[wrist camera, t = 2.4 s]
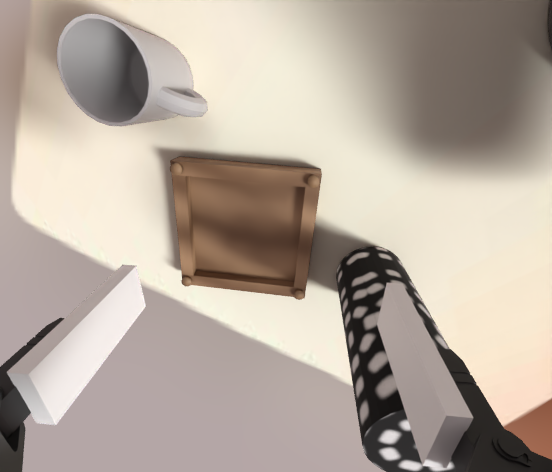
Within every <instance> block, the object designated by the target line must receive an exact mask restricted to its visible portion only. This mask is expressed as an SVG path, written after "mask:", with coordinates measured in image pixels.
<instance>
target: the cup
mask: <svg viewBox="0 0 552 472" xmlns="http://www.w3.org/2000/svg"><path fill="white" fill-rule="evenodd" d="M57 63H58V69H59V72H60V76H61V80H62V82H63V84H64V86H65V88H66V90H67V92H68V94H69V95H70V97H71V98H72V100H73V101H74V102H75V104H76V105H77V106H78V107H79V108H80V109H81V110H82V111H83V112H84V113H85V114H86V115H88V116H90V117H91V118H93V119H94V120H96V121H98V122H100V123H103V124H106V125H109V126H126V125H132V124H139V123H145V122H151V121H158V120H164V119H168V118H172V117H175V116H177V115H181V116H186V117H201V116H203V115H204V113H205V112H206V111H207V110H208V107H207V101H206V100H205V99H204V98H203V97H202V96H201V95H200V94H198V93H197V92H195V91H193V88H194V85H193V75H192V72H191V69H190V66H189V64H188V62H187V60H186V58H185V57H184V55H183V54H182V53H181V52H180V51H179V50H178V48H177V47H175V46H174V45H172V44H171V43H169V42H168V41H166V40H164V39H162V38H159V37H157V36H154V35H152V34H149V33H147V32H144V31H142V30H139V29H137V28H134V27H132V26H129V25H127V24H124V23H122V22H119V21H117V20H114V19H112V18H109V17H106V16H103V15H100V14H84V15H82V16H79V17H76V18H74V19H73V20H72V21H71V22H70V23H68V24H67V25H66V26H65V28H64V30H63V32H62V34H61V36H60V38H59V43H58V48H57Z"/></svg>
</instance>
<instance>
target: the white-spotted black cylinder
mask: <svg viewBox="0 0 552 472" xmlns="http://www.w3.org/2000/svg"><path fill="white" fill-rule="evenodd" d="M336 279H337V285H338V291H339V298H340V304H341V311H342V317H343V324H344V330H345V336H346V343H347V349H348V356H349V362H350V368H351V375H352V381H353V388H354V394H355V400H356V407H357V413H358V419H359V426H360V433H361V439H362V445H363V449H364V453H365V454H366V456H367V458H368V459H369V460H370V461H371V462H372V463H373V464H374V465H376V466H377V467H379V468H380V469H382V470H384V471H386V472H457V470H456V468H455V465H454V463H453V461H452V459H451V461H450V463H449V464H448V466H447V468H438V467H429V466H423V465H422V462H421V459H420V456H419V453H418V449H417V446H416V443H415V440H414V437H413V434H412V431H411V428H410V425H409V422H408V419H407V415H406V412H405V409H404V406H403V403H402V400H401V397H400V394H399V391H398V388H397V385H396V381H395V378H394V375H393V372H392V369H391V366H390V363H389V360H388V357H387V354H386V351H385V347H384V344H383V341H382V338H381V335H380V332H379V329H378V326H377V322H378V318H379V314H380V309H381V305H382V301H383V297H384V292H385V288H386V284H387V283H399V284H403V286H404V288H405V290H406V291H407V293H408V295H409V297H410V299H411V301H412V303H413V305H414V307H415V308H416V310H417V312H418V314H419V316H420V318H421V320H422V322H423V324H424V325H425V327H426V329H427V331H428V333H429V335H430V337H431V339H432V341H433V342H434V344H435V346H436V348H440V349H449V347H448V345H447V343H446V342H445V340H444V338H443V336H442V335H441V333H440V331H439V329H438V327H437V326H436V324H435V322H434V320H433V319H432V317H431V315H430V313H429V311H428V310H427V308H426V306H425V304H424V302H423V301H422V299H421V297H420V295H419V294H418V292H417V290H416V288H415V286H414V285H413V283H412V281H411V279H410V278H409V276H408V274H407V272H406V270H405V269H404V267H403V265H402V263H401V262H400V260H399V259H398V257H397V256H396V255H395V254H393V253H392V252H390V251H388V250H386V249H383V248H379V247H365V248H361V249H358V250H355V251H353V252H352V253H350V254H348V255H347V256H346V257H345V258H344V259H343V260H342V261H341V263H340V264H339V266H338V269H337V274H336Z"/></svg>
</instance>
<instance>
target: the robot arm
mask: <svg viewBox="0 0 552 472" xmlns="http://www.w3.org/2000/svg"><path fill="white" fill-rule="evenodd" d="M549 37H550V43H551V47H552V0H551V3H550V10H549ZM145 306H146V305H145V301H144V296H143V292H142V288H141V283H140V279H139V275H138V271H137V266H133V265H122V266H121V267H120V268H119V269H118V270H117V271H115V272H114V273H113V274H112V275H111V276H110V277H109V278H108V279H107V280H106V281H105V282H104V283H103V284H101V285H100V286H99V287H98V288H97V289H96V290H95V291H94V292H93V293H92V294H91V295H90V296H89V297H87V298H86V299H85V300H84V301H83V302H82V303H81V304H80V305H79V306H78V307H77V308H75V309H74V310H73V311H72V312H71V313H70V314H69V315H68V316H67V317H66V318H59V319H57V320H56V321H54V322H52V323H51V324H49V325H47V326H46V327H45V328H44V329H42V330H41V331H40V332H39V333H38V334H37V335H36V337H35V338H34V337H33V338H32V339H31V340H30V341H29V342H28V343H27V345H26V346H23V347H22V348H21V349H20V350H19V351H18V352H17V353H15V354H14V355H13V356H12V357H11V358H10V359H9V360H8V361H6V362H5V363H4V364H3V365H2V366H1V367H0V472H22V464H23V452H24V439H25V426H24V423H23V421H24V420H25V419H26V418H27V417H28V415H29V414H30V413H31V415H32V416H33V418H34V420H35V422H36V423H41V424H51V425H56V424H57V423H58V421H59V420H60V419H61V418H62V416H63V415H64V414H65V412H66V411H67V410H68V408H69V407H70V406H71V404H72V403H73V402H74V400H75V399H76V398H77V396H78V395H79V394H80V392H81V391H82V390H83V388H84V387H85V386H86V385H87V383H88V382H89V381H90V379H91V378H92V377H93V375H94V374H95V373H96V371H97V370H98V369H99V367H100V366H101V365H102V363H103V362H104V361H105V359H106V358H107V357H108V355H109V354H110V353H111V351H112V350H113V349H114V348H115V346H116V345H117V344H118V342H119V341H120V340H121V338H122V337H123V336H124V334H125V333H126V332H127V330H128V329H129V328H130V326H131V325H132V324H133V322H134V321H135V320H136V318H137V317H138V316H139V314H140V313H141V312H142V311H143V309H144V308H145ZM377 326H378V329H379V332H380V335H381V338H382V341H383V344H384V347H385V351H386V354H387V357H388V360H389V363H390V366H391V369H392V372H393V375H394V378H395V381H396V385H397V388H398V391H399V394H400V397H401V400H402V403H403V406H404V409H405V412H406V415H407V419H408V422H409V425H410V428H411V431H412V434H413V437H414V440H415V443H416V446H417V449H418V453H419V456H420V459H421V462H422V465H423V466H429V467H438V468H447V466H448V464H449V463H450V461H451V459H452V461H453V463H454V465H455V468H456V470H457V472H552V460H551V459H548V458H546V457H543V456H541V455H538V454H536V453H534V452H532V451H530V449H529V448H528V447H527V446H526V445H525V444H524V443H523V441H522V440H520V439H519V438H518V437H517V436H515V435H514V434H513V433H511V432H509V431H507V430H505V429H504V428H503V426H502V425H501V423H500V422H499V420H498V418H497V417H496V415H495V413H494V412H493V410H492V408H491V407H490V405H489V403H488V402H487V400H486V398H485V397H484V395H483V393H482V392H481V390H480V388H479V387H478V386H477V385H476V382H475V380H474V379H473V377H472V375H470V372H469V370H468V369H467V367H466V365H465V364H464V362H463V360H462V359H460V358H459V357H458V356H457V355H456V354H455V353H454V352H453V351H452V350H451V349H440V348H436V346H435V344H434V342H433V341H432V339H431V337H430V335H429V333H428V331H427V329H426V327H425V325H424V324H423V322H422V320H421V318H420V316H419V314H418V312H417V310H416V308H415V307H414V305H413V303H412V301H411V299H410V297H409V295H408V293H407V291H406V290H405V288H404V286H403V284H399V283H387V284H386V288H385V292H384V297H383V301H382V305H381V309H380V314H379V318H378V322H377Z"/></svg>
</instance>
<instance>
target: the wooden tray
mask: <svg viewBox="0 0 552 472" xmlns="http://www.w3.org/2000/svg"><path fill="white" fill-rule="evenodd" d="M170 162H171V166H170V171H171V173H172V182H173V192H174V202H175V211H176V221H177V231H178V241H179V251H180V261H181V271H182V284H183V285H184V286H190V285H197V286H206V287H214V288H223V289H231V290H240V291H248V292H257V293H265V294H274V295H282V296H291V297H295V298H296V299H298V300H300V299H302V298H304V297H305V290H306V283H307V276H308V269H309V262H310V254H311V247H312V240H313V233H314V226H315V219H316V211H317V204H318V197H319V190H320V183H321V176H322V173H321V169H315V168H304V167H293V166H281V165H270V164H259V163H248V162H237V161H225V160H214V159H203V158H192V157H181V156H179V157H177V158H175V159H173V160H171V161H170Z"/></svg>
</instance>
